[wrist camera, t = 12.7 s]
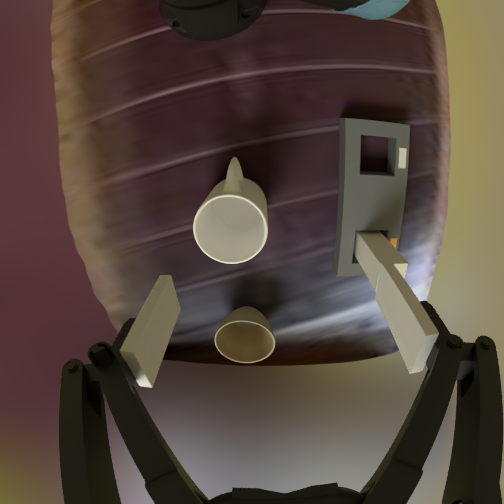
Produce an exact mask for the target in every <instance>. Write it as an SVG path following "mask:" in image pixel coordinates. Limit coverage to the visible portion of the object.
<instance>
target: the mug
mask: <svg viewBox="0 0 504 504" xmlns="http://www.w3.org/2000/svg"><path fill="white" fill-rule="evenodd" d="M193 231H194V236H195V239H196V242H197V243H198V245H199V247H200V248H201V249H202V251H203V252H204V253H205V254H207V255H208V256H209V257H211V258H212V259H214V260H216V261H219V262H223V263H229V264H235V263H241V262H244V261H247V260H249V259H251V258H253V257H254V256H255V255H257V254H258V253H259V252H260V250H261V249H262V248H263V246H264V244H265V242H266V239H267V234H268V222H267V202H266V198H265V195H264V193H263V191H262V190H261V188H260V187H259V186H258V185H257V184H256V183H254V182H253V181H251V180H249V179H246V178H244V177H243V173H242V170H241V166H240V163H239V161H238V159H237V158H236V157H233V158H232V160H231V162H230V164H229V168H228V172H227V176H226V179H225V180H223V181H221V182H220V183H218V184H217V185H216V186H215V187H214V188H213V190H212V191H211V192H210V194H209V195H208V197H207V198H206V200H205V201H204V203H203V204H202V205H201V207H200V208H199V210H198V211H197V214H196V216H195V219H194V224H193Z"/></svg>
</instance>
